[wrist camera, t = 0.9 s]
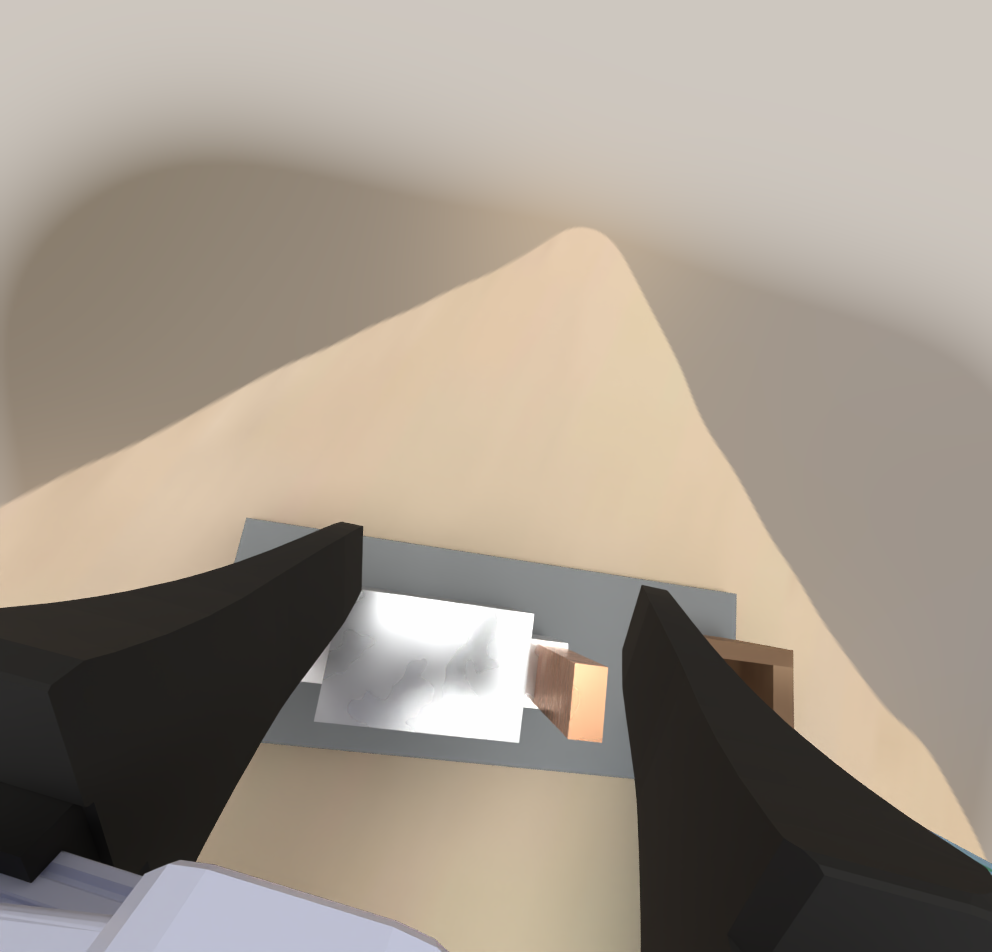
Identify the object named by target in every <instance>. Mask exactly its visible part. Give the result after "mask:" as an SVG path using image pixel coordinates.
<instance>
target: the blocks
mask: <svg viewBox="0 0 992 952" xmlns="http://www.w3.org/2000/svg"><path fill="white" fill-rule="evenodd" d="M330 643H331V642H330ZM330 643H329V644H328V646H327V647H326V648H325V650H324V651H323V652H322V654H321V655H320V656H319V658H318V659H317V660H316V662H315V663H314V664H313V666H312V667H311V669H310V670H309V671H308V673H307V674H306V675H305V677H304V678H303V679H302V681H301V682H310V683H319V684H322V681H323V676H324V672H325V667H326V662H327V657H328V653H329V648H330ZM607 674H608V667H606V666H604V665H602V664H600V663H597V662H595V661H593V660H591V659H589V658H586V657H584V656H582V655H580V654H578V653H575V652H573V651H571V650H569V649H568V643H565V642H563V641H560V640H558V639H556V638H553V637H550V636H543V635H535V634H532V636H531V645H530V653H529V662H528V670H527V679H526V687H525V696H524V704H523V707H528V708H537V709H539V710H540V711H541V712H542V713H543V714H544V715H545V716H546V717H547V718H548V719H549V720H550V721H551V722H552V723H553V724H554V725H555V726H556V727H557V728H558V729H559V730H560V731H561V732H562V733H563V735H564V736H565V737H566V738H567V739H572V740H581V741H590V742H600V743H602V738H603V725H604V712H605V700H606V687H607Z"/></svg>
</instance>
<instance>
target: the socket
mask: <svg viewBox="0 0 992 952" xmlns="http://www.w3.org/2000/svg"><path fill="white" fill-rule="evenodd" d="M703 636H704V637H705V638H706V639H707V640H708V642H709V643H710V644H711V645H712V646H713V648H714V649H715V650H716V651H717V652H718V653H719V655H720V656H721V657H722V658H723V659H724V660H725V661H726V663H727V664H728V665H729V666H730V667H731V668H732V669H733V670H734V671H735V672H736V673H737V674H738V676H739V677H740V678H741V679H742V680H743V681H744V682H745V683H746V684H747V685H748V686H749V687H750V688H751V689H752V690H753V691H754V692H755V693H756V694H757V695H758V696H759V697H760V698H761V699H762V700H763V701H764V702H765V703H766V704H767V705H768V706H769V707H770V708H771V709H773V710H774V711H775V712H776V713H777V714H778V715H779V716H780V717H781V718H782V719H783V720H784V721H785V722H786V723H788V724H789V725H790V726H791V727H792V728H793V729H794V696H793V650H787V649H782V648H776V647H771V646H766V645H760V644H755V643H749V642H744V641H739V640H733V639H728V638H722V637H715V636H708V635H703Z"/></svg>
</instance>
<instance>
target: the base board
mask: <svg viewBox="0 0 992 952" xmlns="http://www.w3.org/2000/svg"><path fill="white" fill-rule="evenodd" d="M318 530H320V529H315V528H309V527H302V526H296V525H289V524H283V523H277V522H270V521H264V520H257V519H251V518H246V521H245V525H244V529H243V532H242V536H241V540H240V544H239V547H238V551H237V555H236V558H235V562H234V563H236V562H239V561H242V560H244V559H247V558H250V557H253V556H255V555H258V554H261V553H263V552H266V551H269V550H271V549H274V548H276V547H279V546H281V545H284V544H286V543H289V542H291V541H293V540H296V539H298V538H301V537H303V536H306V535H308V534H310V533H313V532H315V531H318ZM641 585H645V586H650V587H655V588H659V589H664V590H667V591H668V592H669V593H670V594H671V595H672V597H673V598H674V599H675V600H676V602H677V603H678V604H679V605H680V607H681V608H682V609H683V610H684V612H685V613H686V614H687V616H688V617H689V618H690V619H691V621H692V622H693V623H694V624H695V626H696V627H697V628H698V629H699V631H700V632H701V633H702V634H703V635H708V636H715V637H722V638H728V639H733V640H736V595H737V594H733V593H726V592H720V591H713V590H707V589H701V588H694V587H688V586H681V585H675V584H668V583H662V582H656V581H649V580H643V579H636V578H630V577H623V576H617V575H611V574H604V573H598V572H591V571H585V570H578V569H572V568H566V567H559V566H553V565H546V564H540V563H533V562H527V561H521V560H514V559H508V558H501V557H495V556H489V555H482V554H476V553H469V552H463V551H456V550H450V549H444V548H437V547H431V546H424V545H418V544H411V543H405V542H399V541H392V540H386V539H379V538H373V537H366V536H363V557H362V586H363V587H370V588H377V589H384V590H391V591H398V592H405V593H412V594H419V595H426V596H433V597H440V598H447V599H454V600H462V601H469V602H476V603H483V604H490V605H497V606H504V607H511V608H514V609H518V610H522V611H525V612H529V613H532V614H534V619H533V628H532V634H535V635H543V636H550V637H553V638H556V639H558V640H560V641H563V642H565V643H568V649H569V650H571V651H573V652H575V653H578V654H580V655H582V656H584V657H586V658H589V659H591V660H593V661H595V662H597V663H600V664H602V665H604V666H606V667H608V674H607V687H606V700H605V712H604V725H603V738H602V743H600V742H590V741H581V740H572V739H567V738H566V737H565V736H564V735H563V733H562V732H561V731H560V730H559V729H558V728H557V727H556V726H555V725H554V724H553V723H552V722H551V721H550V720H549V719H548V718H547V717H546V716H545V715H544V714H543V713H542V712H541V711H540V710H539V709H537V708H528V707H523V713H522V722H521V730H520V739H519V743H515V742H506V741H496V740H487V739H477V738H467V737H458V736H448V735H439V734H429V733H419V732H410V731H400V730H391V729H381V728H372V727H362V726H352V725H343V724H333V723H324V722H314V718H315V714H316V709H317V704H318V700H319V695H320V690H321V686H322V684H319V683H310V682H300V683H299V685H298V686H297V687H296V689H295V690H294V691H293V693H292V694H291V695H290V697H289V698H288V700H287V701H286V703H285V704H284V706H283V707H282V709H281V710H280V712H279V713H278V715H277V717H276V718H275V720H274V722H273V723H272V725H271V727H270V728H269V730H268V732H267V733H266V735H265V737H264V738H263V740H262V742H261V743H271V744H281V745H291V746H302V747H312V748H322V749H332V750H343V751H353V752H363V753H373V754H384V755H394V756H404V757H415V758H425V759H435V760H445V761H456V762H466V763H476V764H486V765H497V766H507V767H517V768H528V769H538V770H548V771H558V772H569V773H579V774H589V775H599V776H610V777H620V778H630V779H635V778H634V771H633V764H632V757H631V749H630V742H629V735H628V728H627V721H626V713H625V706H624V698H623V690H622V648H623V645H624V642H625V638H626V635H627V632H628V628H629V625H630V622H631V618H632V615H633V612H634V608H635V605H636V602H637V598H638V595H639V592H640V588H641Z"/></svg>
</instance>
